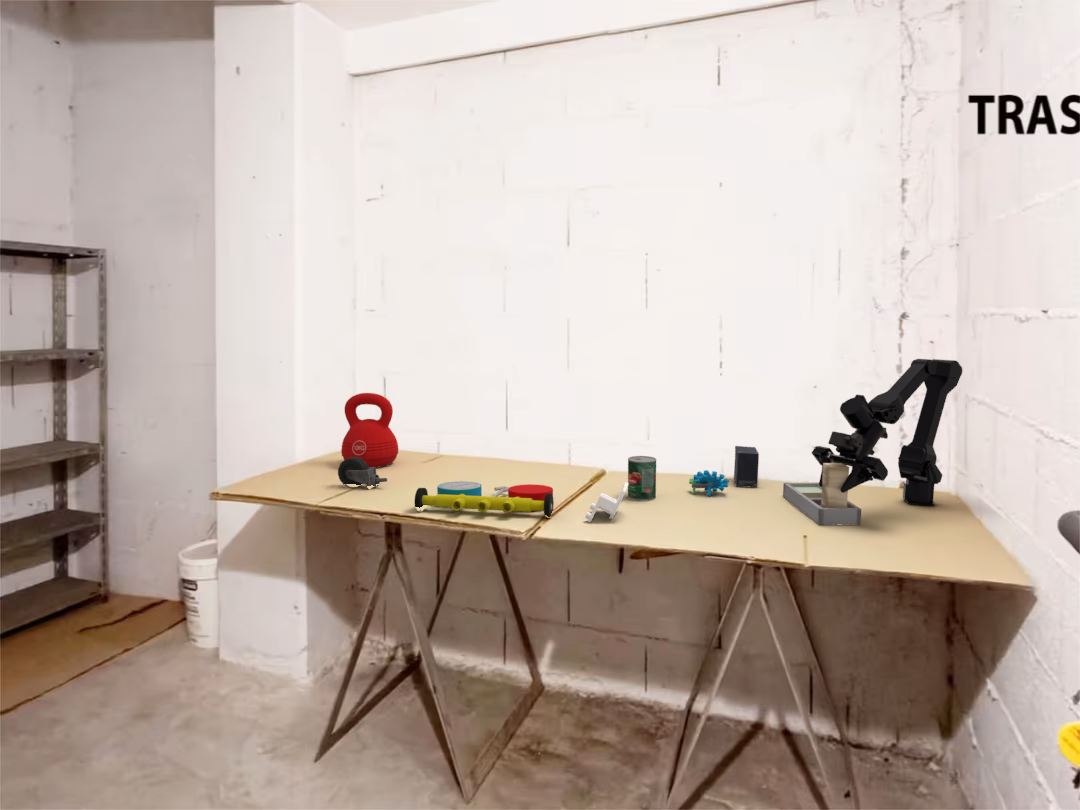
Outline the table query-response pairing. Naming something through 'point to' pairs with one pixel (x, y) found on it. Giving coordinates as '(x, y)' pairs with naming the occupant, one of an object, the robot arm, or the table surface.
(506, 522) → the table surface
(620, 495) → the mounting bracket
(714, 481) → the blue spiky toy
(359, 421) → the kettlebell
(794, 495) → the tray
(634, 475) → the canned tomato
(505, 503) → the hvac manifold gauge set
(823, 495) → the beech block
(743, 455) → the small box
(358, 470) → the caster wheel
